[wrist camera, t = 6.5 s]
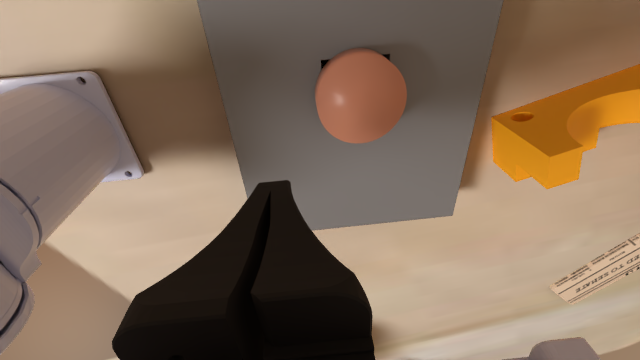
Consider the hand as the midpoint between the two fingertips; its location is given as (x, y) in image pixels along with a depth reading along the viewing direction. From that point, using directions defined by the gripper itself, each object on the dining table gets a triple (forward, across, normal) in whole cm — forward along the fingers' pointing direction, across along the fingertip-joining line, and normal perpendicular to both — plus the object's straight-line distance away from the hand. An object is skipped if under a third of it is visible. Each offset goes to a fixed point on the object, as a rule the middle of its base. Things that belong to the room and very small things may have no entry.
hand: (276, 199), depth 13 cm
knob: (+10, -5, -2) cm, 11 cm away
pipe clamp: (+11, -22, +2) cm, 25 cm away
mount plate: (+10, -5, -2) cm, 12 cm away
